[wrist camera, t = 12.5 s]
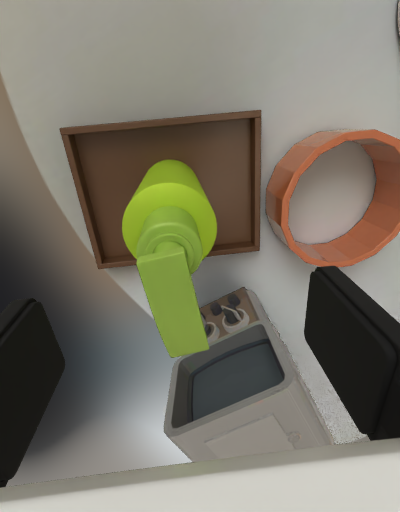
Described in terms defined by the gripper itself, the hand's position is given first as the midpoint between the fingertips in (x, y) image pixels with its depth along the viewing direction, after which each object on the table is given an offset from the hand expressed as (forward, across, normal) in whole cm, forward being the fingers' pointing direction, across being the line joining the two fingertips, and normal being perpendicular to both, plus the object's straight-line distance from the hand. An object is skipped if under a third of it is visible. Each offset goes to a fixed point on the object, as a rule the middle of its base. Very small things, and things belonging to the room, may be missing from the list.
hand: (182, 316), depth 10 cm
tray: (+22, +1, 0) cm, 22 cm away
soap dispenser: (+22, +1, 0) cm, 22 cm away
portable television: (+22, -6, +23) cm, 32 cm away
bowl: (+22, -16, +2) cm, 28 cm away
